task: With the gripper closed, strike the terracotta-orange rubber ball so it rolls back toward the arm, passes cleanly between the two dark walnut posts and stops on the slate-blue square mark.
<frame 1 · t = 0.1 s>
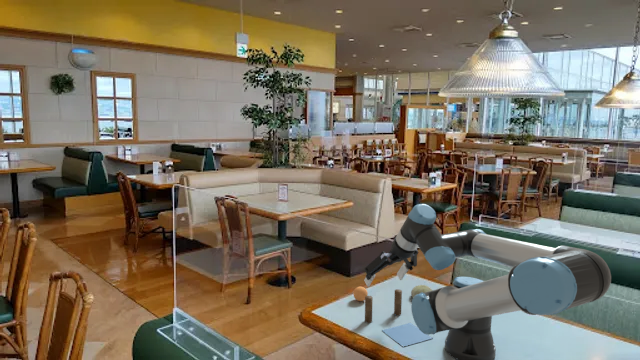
hand: (383, 280, 160), 15 cm above the table, tool tilted 35°, fingers open, 13 cm apart
post right: (397, 313, 168), on the table
post left: (368, 321, 162), on the table
ball: (360, 293, 179), on the table
sea urchin shell: (422, 298, 181), on the table
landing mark: (406, 334, 152), on the table
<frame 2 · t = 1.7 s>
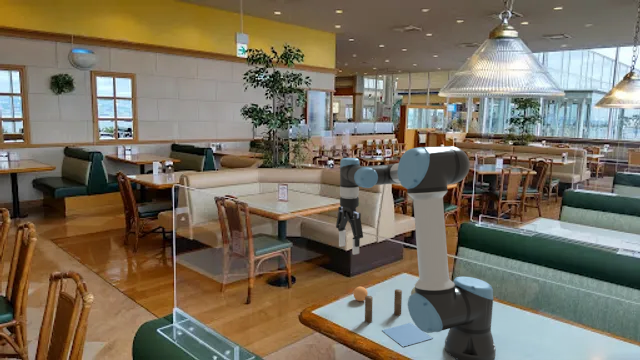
hand: (348, 249, 184), 18 cm above the table, tool pointing down, fingers open, 10 cm apart
nothing on the table moved.
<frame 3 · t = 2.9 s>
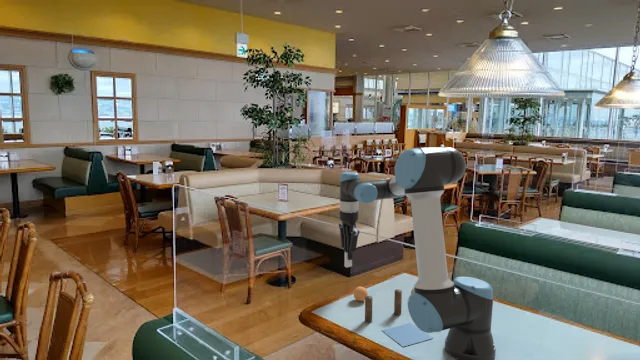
hand: (348, 266, 186), 11 cm above the table, tool pointing down, fingers closed
nothing on the table moved.
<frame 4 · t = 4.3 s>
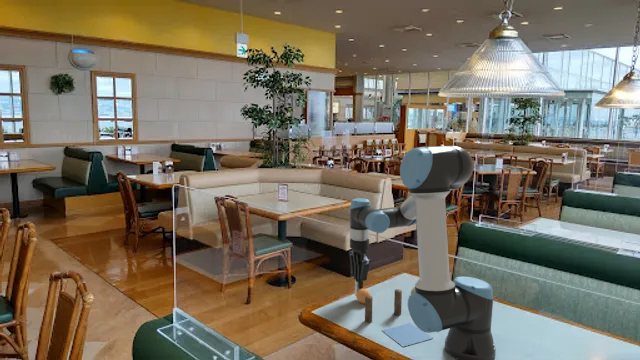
hand: (358, 295, 180), 2 cm above the table, tool pointing down, fingers closed
ball: (363, 295, 177), on the table
everything else where it was.
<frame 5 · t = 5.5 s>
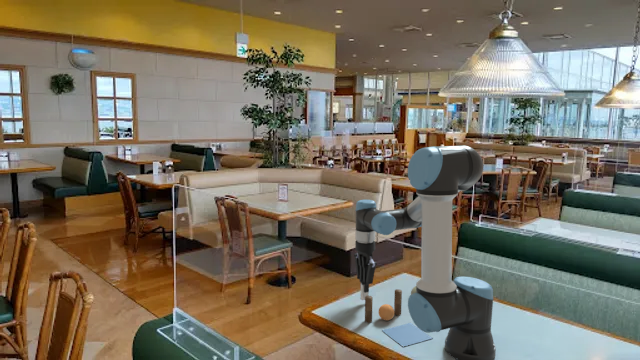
hand: (364, 298, 176), 2 cm above the table, tool pointing down, fingers closed
ball: (386, 312, 163), on the table
everything else where it was.
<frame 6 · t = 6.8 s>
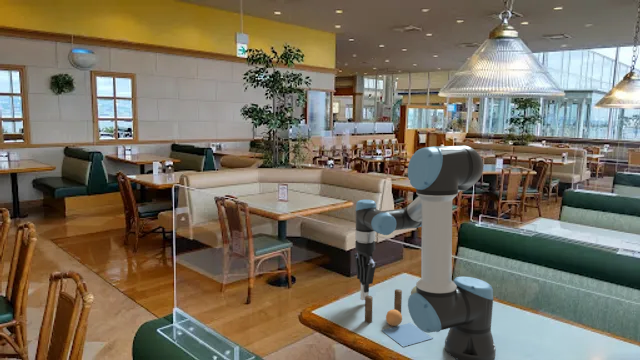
hand: (364, 298, 176), 2 cm above the table, tool pointing down, fingers closed
ball: (394, 317, 159), on the table
everything else where it was.
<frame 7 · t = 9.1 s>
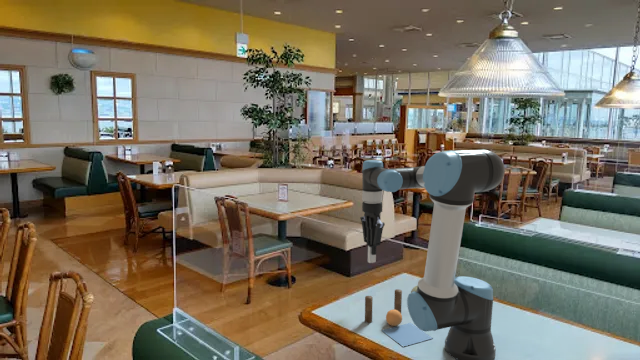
hand: (371, 262, 173), 17 cm above the table, tool pointing down, fingers closed
nothing on the table moved.
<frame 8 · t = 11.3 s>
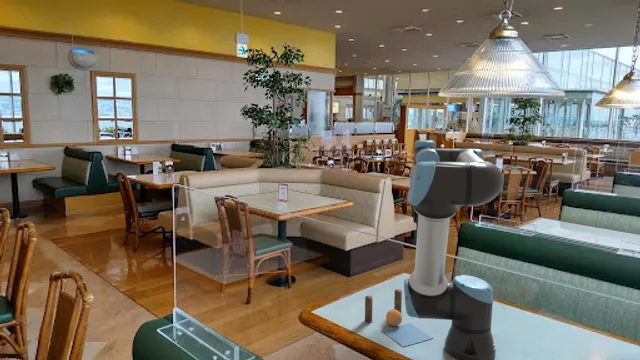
hand: (421, 242, 173), 24 cm above the table, tool pointing down, fingers closed
nothing on the table moved.
at the end: ball 7.4 cm from the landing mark (horizontally); ball never touched post left; ball never touched post right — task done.
